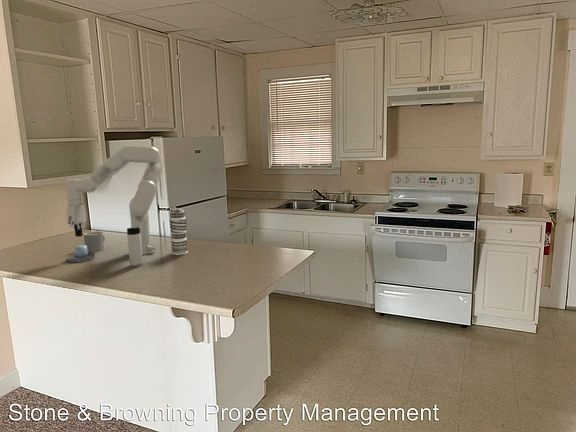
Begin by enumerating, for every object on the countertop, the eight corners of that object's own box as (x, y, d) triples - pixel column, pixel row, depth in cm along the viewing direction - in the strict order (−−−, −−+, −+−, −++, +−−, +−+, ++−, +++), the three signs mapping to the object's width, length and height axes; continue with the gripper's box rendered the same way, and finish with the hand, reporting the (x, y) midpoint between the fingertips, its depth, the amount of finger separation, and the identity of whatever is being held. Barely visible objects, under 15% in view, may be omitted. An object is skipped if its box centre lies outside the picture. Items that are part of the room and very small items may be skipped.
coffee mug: (93, 253, 245) (92, 235, 243) (81, 251, 249) (79, 234, 247) (112, 247, 257) (111, 230, 255) (100, 245, 261) (99, 229, 259)
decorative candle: (178, 256, 236) (175, 210, 231) (168, 253, 242) (165, 209, 237) (192, 252, 243) (189, 208, 238) (181, 249, 249) (178, 206, 244)
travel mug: (129, 267, 217) (126, 228, 213) (130, 264, 223) (127, 226, 219) (142, 266, 218) (139, 227, 215) (143, 262, 225) (140, 225, 221)
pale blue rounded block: (90, 257, 236) (89, 245, 235) (83, 260, 230) (81, 248, 229) (80, 257, 237) (79, 244, 236) (73, 260, 232) (72, 247, 230)
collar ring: (100, 256, 239) (99, 252, 238) (84, 262, 226) (84, 259, 226) (79, 255, 241) (79, 251, 241) (63, 261, 229) (62, 258, 228)
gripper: (78, 199, 236) (82, 232, 239) (59, 204, 221) (63, 239, 225) (91, 200, 234) (94, 233, 238) (72, 204, 220) (75, 239, 223)
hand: (79, 236), depth 231 cm, fingers closed
